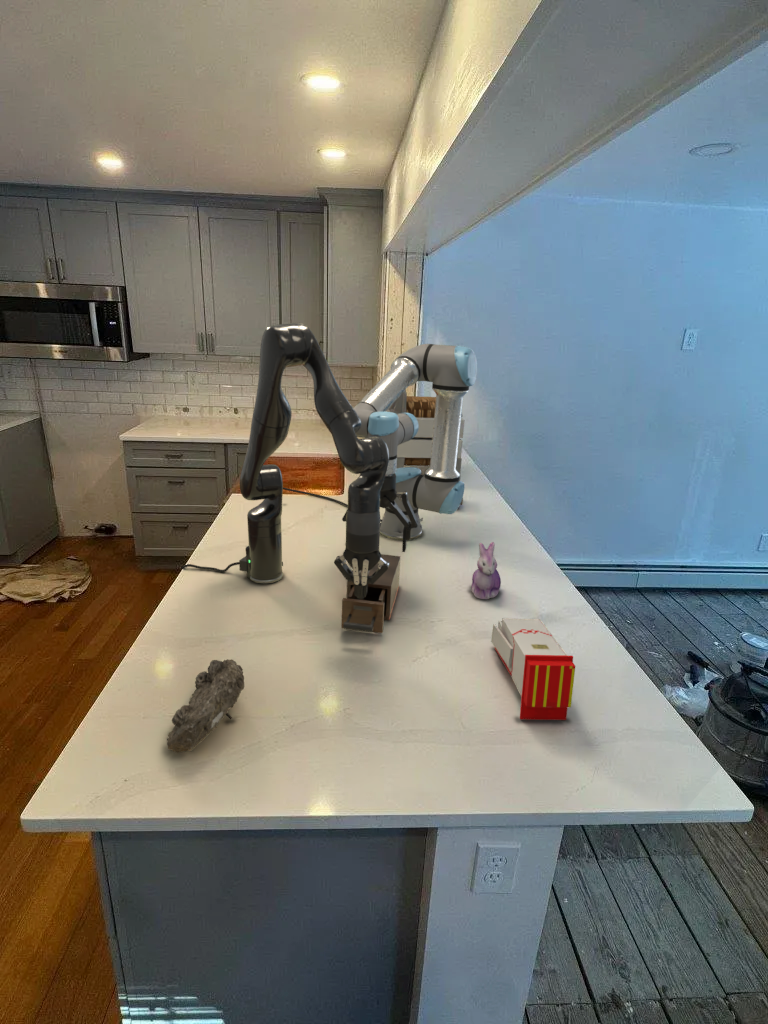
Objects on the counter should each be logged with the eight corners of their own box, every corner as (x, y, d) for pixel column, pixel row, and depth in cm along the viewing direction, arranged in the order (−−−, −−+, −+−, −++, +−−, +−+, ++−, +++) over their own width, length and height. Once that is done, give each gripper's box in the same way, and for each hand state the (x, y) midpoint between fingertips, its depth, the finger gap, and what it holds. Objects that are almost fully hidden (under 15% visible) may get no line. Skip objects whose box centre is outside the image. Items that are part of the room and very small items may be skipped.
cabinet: (389, 620, 144) (391, 586, 141) (346, 615, 146) (346, 581, 143) (398, 587, 162) (400, 556, 158) (359, 583, 163) (360, 552, 160)
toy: (537, 603, 136) (584, 662, 106) (532, 655, 138) (577, 726, 109) (487, 602, 135) (520, 661, 106) (483, 654, 138) (514, 725, 109)
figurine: (482, 603, 154) (488, 553, 149) (461, 587, 163) (466, 539, 158) (510, 597, 158) (516, 547, 153) (487, 581, 167) (493, 534, 162)
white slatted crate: (382, 463, 289) (386, 382, 275) (445, 464, 293) (451, 384, 279) (390, 482, 257) (394, 392, 243) (460, 483, 261) (468, 394, 247)
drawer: (378, 646, 131) (379, 617, 129) (336, 641, 133) (336, 611, 130) (392, 599, 153) (393, 573, 150) (355, 595, 154) (356, 569, 151)
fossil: (192, 660, 117) (244, 628, 112) (224, 691, 120) (276, 661, 115) (142, 746, 98) (202, 712, 93) (182, 779, 101) (242, 748, 96)
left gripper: (329, 530, 122) (328, 602, 128) (390, 536, 120) (386, 608, 126) (337, 519, 129) (336, 587, 135) (395, 524, 127) (391, 593, 133)
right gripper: (331, 473, 145) (331, 549, 152) (428, 481, 141) (423, 558, 149) (338, 465, 152) (337, 538, 159) (431, 472, 148) (426, 546, 156)
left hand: (360, 597), depth 131 cm, fingers closed
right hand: (379, 547), depth 154 cm, fingers open, 13 cm apart
